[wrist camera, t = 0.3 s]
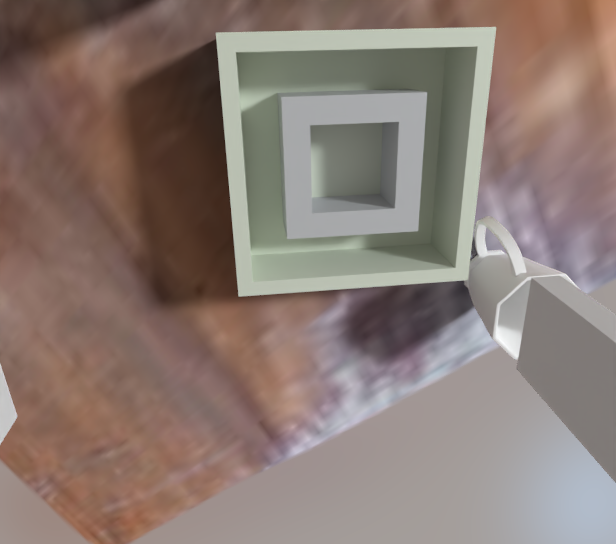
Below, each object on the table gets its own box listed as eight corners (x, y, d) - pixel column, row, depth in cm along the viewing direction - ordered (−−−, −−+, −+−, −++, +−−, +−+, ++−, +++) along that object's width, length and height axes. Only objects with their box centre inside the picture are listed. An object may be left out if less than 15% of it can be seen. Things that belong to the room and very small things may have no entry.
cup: (461, 323, 44) (505, 376, 36) (425, 224, 40) (466, 262, 32) (536, 289, 43) (596, 337, 36) (508, 186, 39) (569, 216, 32)
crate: (220, 36, 33) (215, 32, 27) (455, 32, 34) (496, 27, 29) (239, 263, 39) (238, 296, 34) (437, 250, 41) (467, 280, 35)
